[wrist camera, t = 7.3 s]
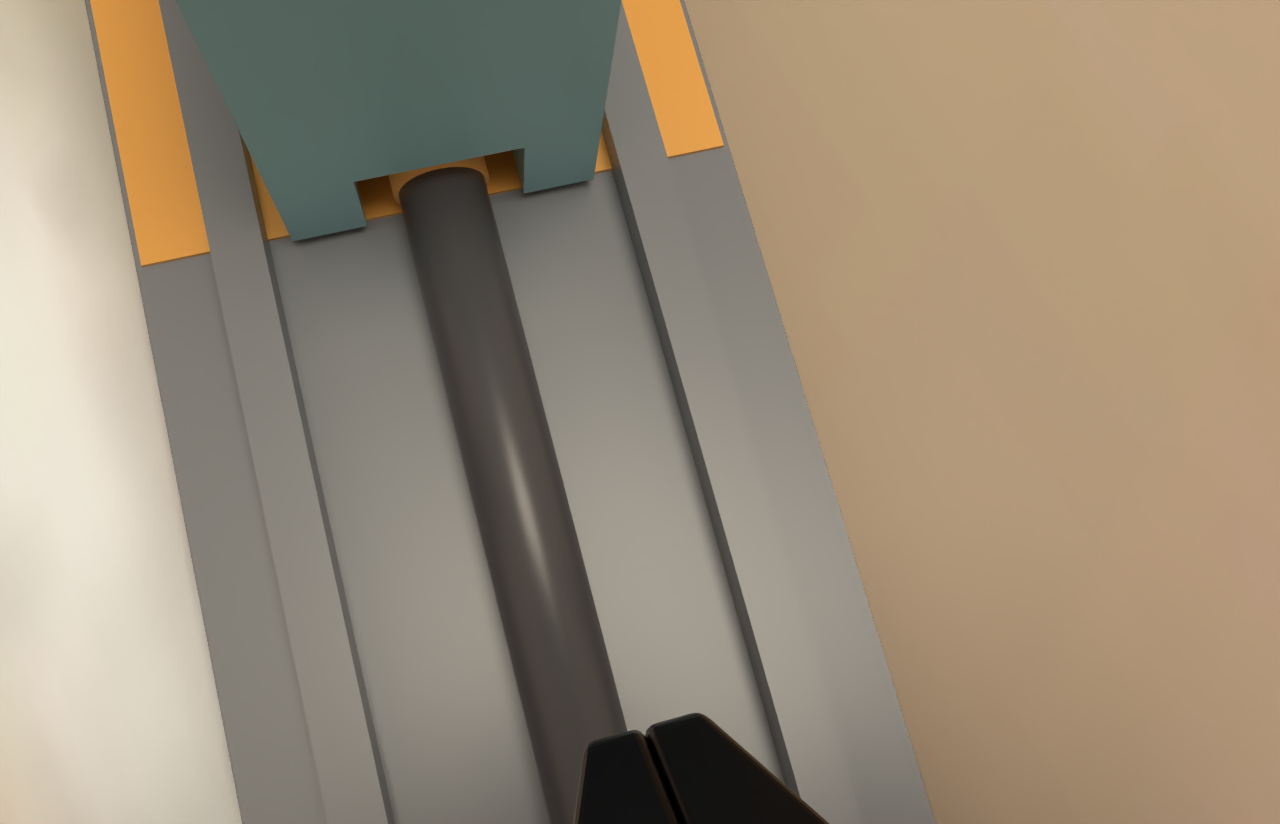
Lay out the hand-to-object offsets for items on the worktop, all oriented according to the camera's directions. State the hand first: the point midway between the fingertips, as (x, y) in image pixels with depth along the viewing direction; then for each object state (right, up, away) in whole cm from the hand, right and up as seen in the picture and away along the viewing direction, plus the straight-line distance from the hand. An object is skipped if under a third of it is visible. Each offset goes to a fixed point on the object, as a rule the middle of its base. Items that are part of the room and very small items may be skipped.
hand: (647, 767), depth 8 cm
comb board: (-2, +2, +12) cm, 12 cm away
